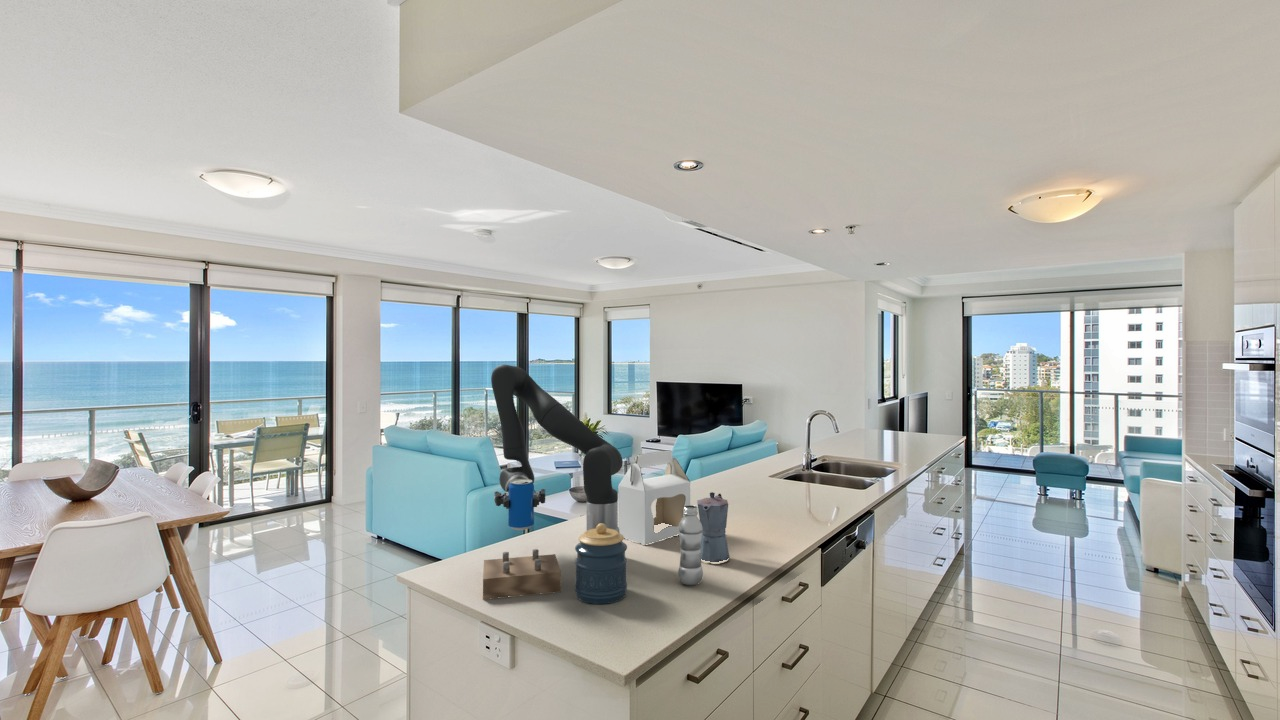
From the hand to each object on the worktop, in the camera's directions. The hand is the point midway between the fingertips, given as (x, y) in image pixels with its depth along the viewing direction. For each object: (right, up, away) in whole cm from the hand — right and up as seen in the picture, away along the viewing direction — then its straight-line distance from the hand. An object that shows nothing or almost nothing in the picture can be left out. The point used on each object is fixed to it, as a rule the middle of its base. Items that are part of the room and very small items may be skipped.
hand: (521, 504), depth 144 cm
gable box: (+35, -23, +46) cm, 63 cm away
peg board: (0, -22, +2) cm, 22 cm away
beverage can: (-1, -7, +2) cm, 7 cm away
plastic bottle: (+44, -22, +3) cm, 49 cm away
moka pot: (+52, -22, +22) cm, 61 cm away
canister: (+21, -22, -4) cm, 30 cm away
